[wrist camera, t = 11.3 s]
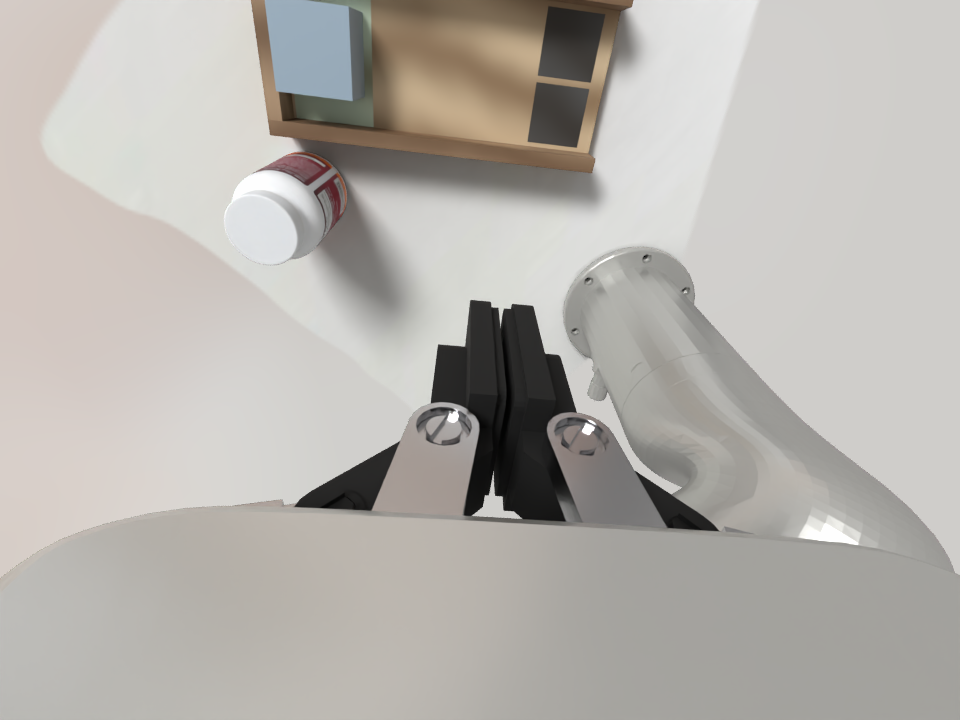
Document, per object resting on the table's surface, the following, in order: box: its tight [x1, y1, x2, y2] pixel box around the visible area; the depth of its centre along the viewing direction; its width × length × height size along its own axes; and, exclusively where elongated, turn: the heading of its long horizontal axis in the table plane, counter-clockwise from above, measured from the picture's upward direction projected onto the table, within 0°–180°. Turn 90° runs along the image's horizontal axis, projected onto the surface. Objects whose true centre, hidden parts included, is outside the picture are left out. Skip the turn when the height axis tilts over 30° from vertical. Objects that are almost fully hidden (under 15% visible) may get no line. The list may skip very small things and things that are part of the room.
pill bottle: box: [224, 152, 347, 265], centre depth 33 cm, size 6×6×11 cm
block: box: [265, 0, 365, 101], centre depth 29 cm, size 5×5×4 cm
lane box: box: [251, 0, 633, 173], centre depth 31 cm, size 11×24×4 cm, turn 84°
